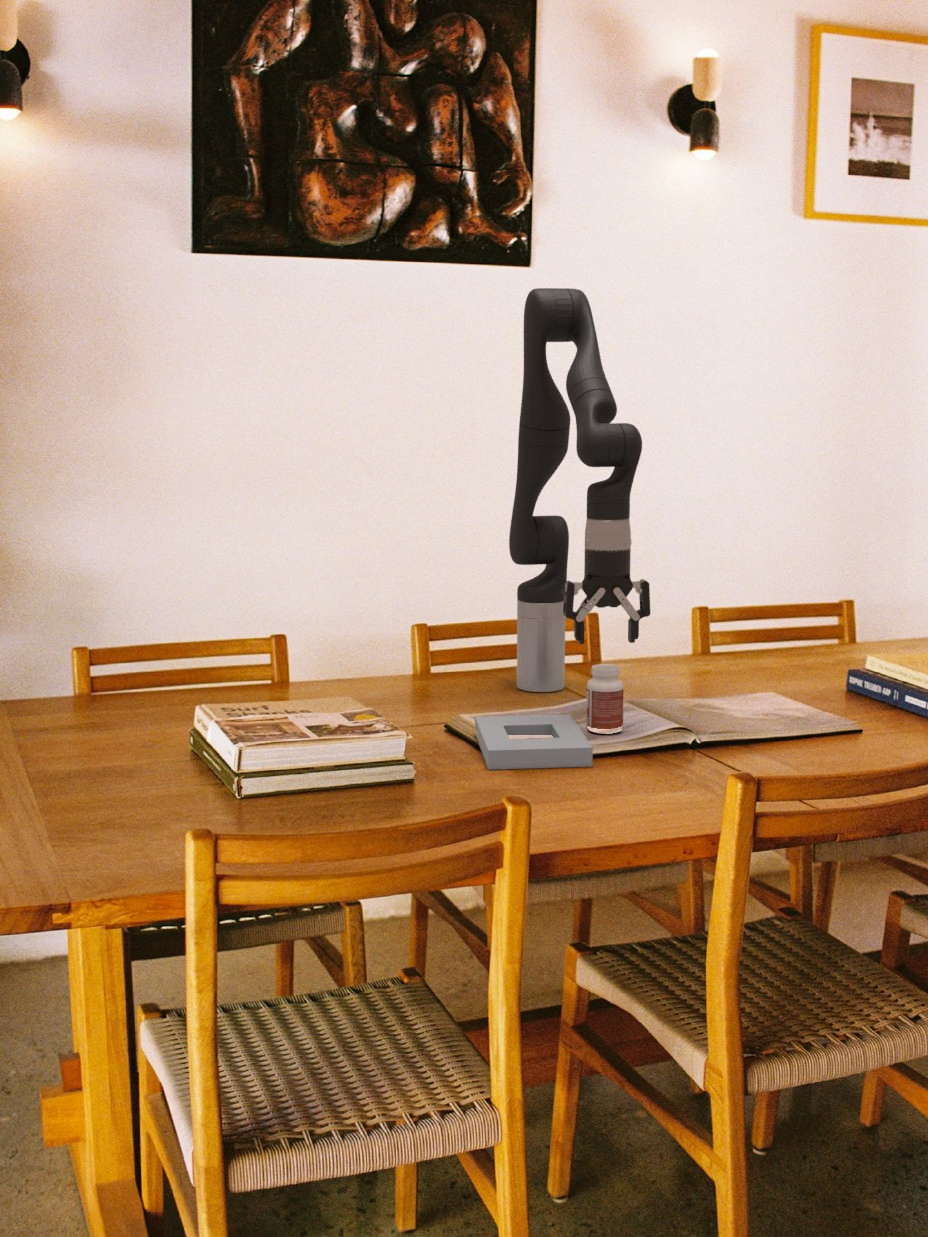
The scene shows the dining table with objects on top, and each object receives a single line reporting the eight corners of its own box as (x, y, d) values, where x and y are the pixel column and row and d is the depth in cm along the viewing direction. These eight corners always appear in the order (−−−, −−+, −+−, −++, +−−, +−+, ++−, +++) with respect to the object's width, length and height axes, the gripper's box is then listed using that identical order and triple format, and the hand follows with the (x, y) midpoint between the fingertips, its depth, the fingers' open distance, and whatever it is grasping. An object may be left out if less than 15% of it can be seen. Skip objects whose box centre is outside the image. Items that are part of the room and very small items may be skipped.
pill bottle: (630, 732, 211) (632, 667, 209) (602, 737, 207) (603, 672, 205) (606, 724, 216) (608, 661, 214) (578, 729, 212) (579, 665, 210)
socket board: (475, 734, 210) (475, 716, 209) (569, 731, 211) (569, 714, 210) (488, 769, 190) (488, 750, 189) (592, 766, 191) (592, 747, 191)
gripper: (644, 542, 210) (642, 637, 213) (561, 544, 209) (560, 639, 212) (655, 547, 203) (653, 646, 206) (568, 549, 202) (567, 648, 204)
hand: (606, 642), depth 209 cm, fingers open, 8 cm apart
